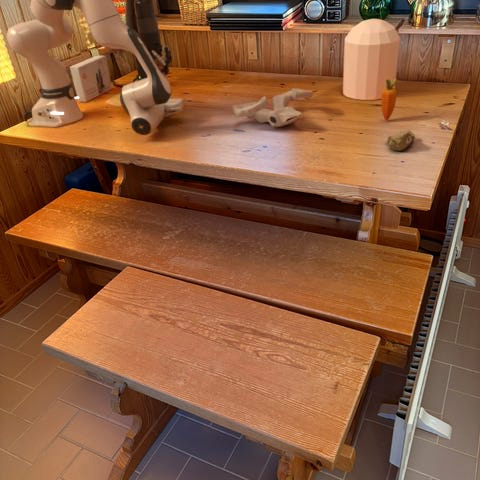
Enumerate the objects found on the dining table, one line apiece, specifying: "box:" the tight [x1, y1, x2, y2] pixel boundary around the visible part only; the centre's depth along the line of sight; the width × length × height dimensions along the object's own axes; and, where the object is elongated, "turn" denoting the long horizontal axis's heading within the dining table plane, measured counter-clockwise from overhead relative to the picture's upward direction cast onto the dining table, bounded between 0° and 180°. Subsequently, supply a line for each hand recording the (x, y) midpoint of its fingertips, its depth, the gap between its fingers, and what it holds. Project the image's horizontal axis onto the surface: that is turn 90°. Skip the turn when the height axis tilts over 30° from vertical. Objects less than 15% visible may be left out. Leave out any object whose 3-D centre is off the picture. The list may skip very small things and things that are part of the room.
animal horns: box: [231, 88, 314, 128], centre depth 171 cm, size 28×26×12 cm
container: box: [342, 18, 401, 101], centre depth 185 cm, size 21×21×28 cm
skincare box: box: [69, 54, 113, 103], centre depth 218 cm, size 21×6×16 cm, turn 158°
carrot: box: [380, 78, 398, 122], centre depth 161 cm, size 5×5×15 cm
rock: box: [387, 129, 416, 152], centre depth 146 cm, size 11×6×10 cm
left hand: (163, 99), depth 188 cm, fingers closed on jar, 5 cm apart
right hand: (156, 74), depth 181 cm, fingers open, 7 cm apart
